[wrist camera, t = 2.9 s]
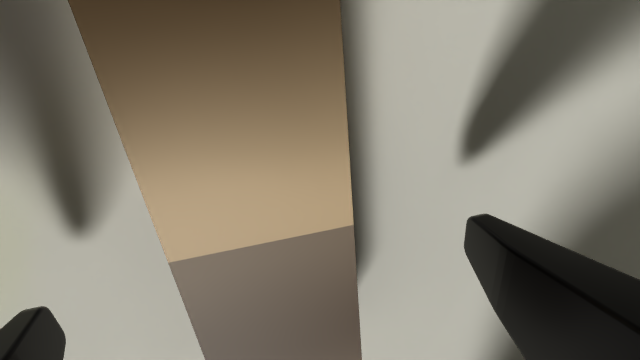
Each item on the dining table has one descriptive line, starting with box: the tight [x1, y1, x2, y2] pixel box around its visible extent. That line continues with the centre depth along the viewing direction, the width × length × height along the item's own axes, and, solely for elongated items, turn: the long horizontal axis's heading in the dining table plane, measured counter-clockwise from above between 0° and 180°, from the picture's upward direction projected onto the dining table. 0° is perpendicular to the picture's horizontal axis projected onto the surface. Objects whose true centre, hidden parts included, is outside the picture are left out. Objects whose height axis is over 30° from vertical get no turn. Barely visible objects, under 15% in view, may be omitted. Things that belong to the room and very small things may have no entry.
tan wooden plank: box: [68, 0, 362, 360], centre depth 7 cm, size 14×3×3 cm, turn 5°
